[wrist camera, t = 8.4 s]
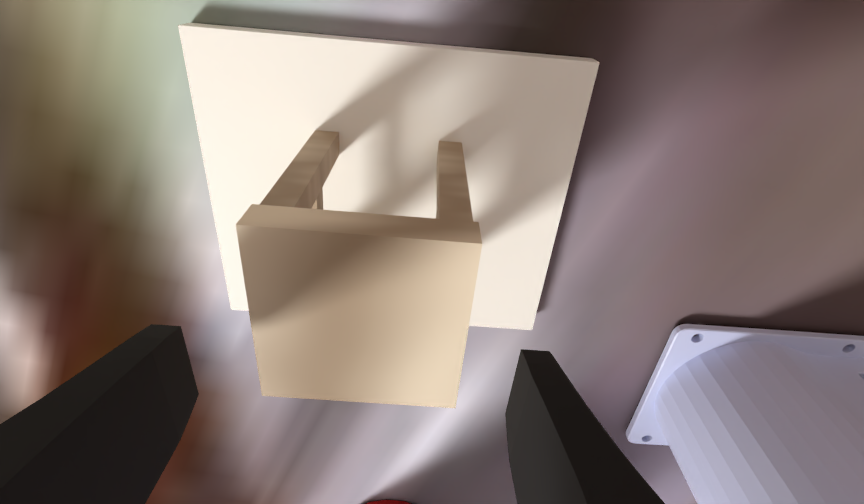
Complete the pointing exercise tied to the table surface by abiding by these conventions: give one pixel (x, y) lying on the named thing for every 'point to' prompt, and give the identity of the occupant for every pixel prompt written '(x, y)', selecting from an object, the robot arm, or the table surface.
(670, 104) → the table surface
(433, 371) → the stool
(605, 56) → the table surface
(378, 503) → the plastic cup
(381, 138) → the board
